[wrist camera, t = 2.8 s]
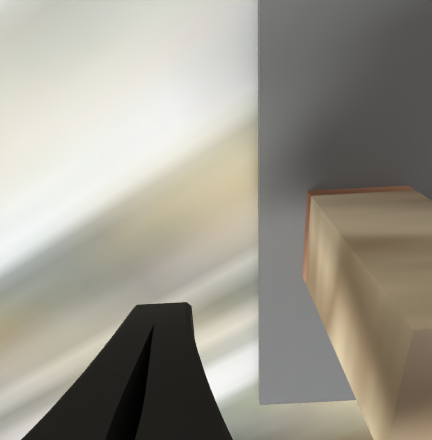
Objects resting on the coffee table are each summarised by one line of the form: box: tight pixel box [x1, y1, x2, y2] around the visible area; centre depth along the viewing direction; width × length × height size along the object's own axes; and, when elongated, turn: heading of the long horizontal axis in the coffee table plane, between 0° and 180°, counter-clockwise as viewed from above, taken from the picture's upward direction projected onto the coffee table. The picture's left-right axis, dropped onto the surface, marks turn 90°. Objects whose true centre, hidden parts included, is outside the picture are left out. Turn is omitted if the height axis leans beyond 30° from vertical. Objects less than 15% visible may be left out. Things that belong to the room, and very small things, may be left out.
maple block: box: [303, 186, 432, 440], centre depth 10 cm, size 4×4×7 cm
